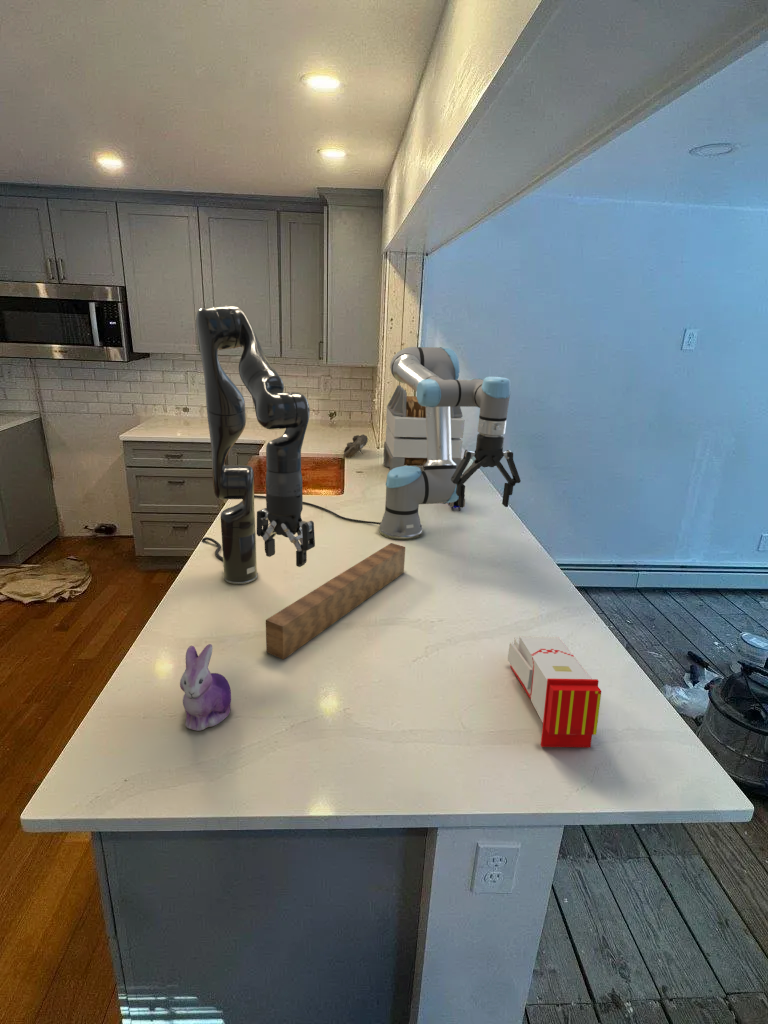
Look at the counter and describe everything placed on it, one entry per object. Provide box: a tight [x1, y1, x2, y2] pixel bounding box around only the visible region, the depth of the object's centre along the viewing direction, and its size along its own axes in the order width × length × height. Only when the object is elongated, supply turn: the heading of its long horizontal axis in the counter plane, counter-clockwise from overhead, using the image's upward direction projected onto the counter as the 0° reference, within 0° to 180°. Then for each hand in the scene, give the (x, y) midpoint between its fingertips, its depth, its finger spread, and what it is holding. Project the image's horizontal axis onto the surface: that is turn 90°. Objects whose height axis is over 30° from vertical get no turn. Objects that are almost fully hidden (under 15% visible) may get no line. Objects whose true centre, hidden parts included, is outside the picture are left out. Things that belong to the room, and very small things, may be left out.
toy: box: [507, 635, 602, 748], centre depth 115 cm, size 12×13×30 cm
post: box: [265, 542, 406, 660], centre depth 148 cm, size 55×5×8 cm, turn 149°
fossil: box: [343, 434, 369, 459], centre depth 304 cm, size 22×10×15 cm
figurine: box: [179, 643, 232, 732], centre depth 106 cm, size 9×10×15 cm
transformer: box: [383, 384, 465, 471], centre depth 268 cm, size 34×33×41 cm
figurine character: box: [447, 494, 466, 511], centre depth 229 cm, size 7×8×15 cm
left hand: (285, 560), depth 124 cm, fingers open, 8 cm apart
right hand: (482, 505), depth 165 cm, fingers open, 13 cm apart
